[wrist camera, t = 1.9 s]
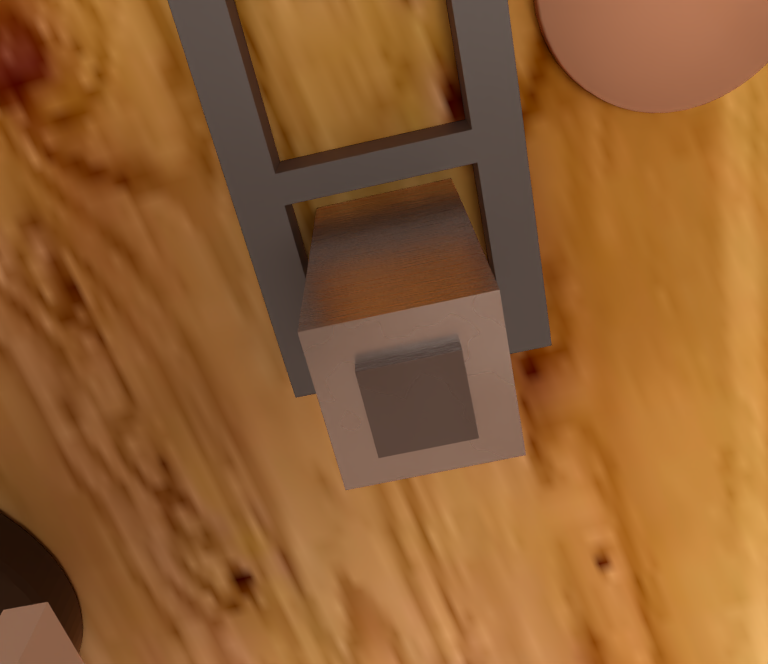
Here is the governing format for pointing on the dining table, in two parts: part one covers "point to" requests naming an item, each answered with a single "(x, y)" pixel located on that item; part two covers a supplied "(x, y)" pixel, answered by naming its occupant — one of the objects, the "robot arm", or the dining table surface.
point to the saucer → (656, 48)
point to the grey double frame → (371, 165)
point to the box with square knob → (407, 338)
